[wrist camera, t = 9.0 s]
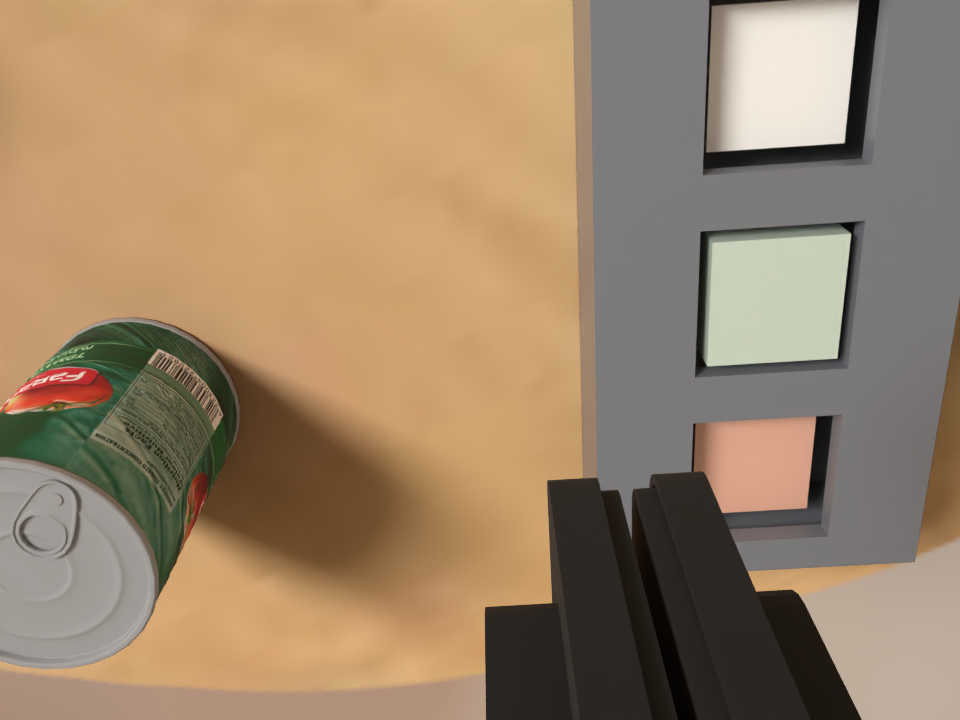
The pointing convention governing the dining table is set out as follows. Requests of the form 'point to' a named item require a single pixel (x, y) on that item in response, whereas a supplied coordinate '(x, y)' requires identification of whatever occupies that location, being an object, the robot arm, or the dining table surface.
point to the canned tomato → (104, 486)
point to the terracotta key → (756, 462)
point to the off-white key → (778, 73)
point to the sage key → (771, 293)
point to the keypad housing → (756, 204)
